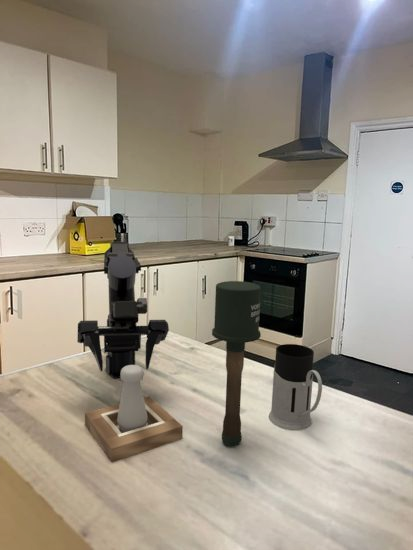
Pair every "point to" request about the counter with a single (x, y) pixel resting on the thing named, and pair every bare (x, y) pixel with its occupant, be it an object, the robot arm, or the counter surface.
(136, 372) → the salt shaker
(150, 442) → the socket board
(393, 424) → the counter surface
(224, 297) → the potato masher grenade
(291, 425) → the glass holder
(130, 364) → the robot arm
